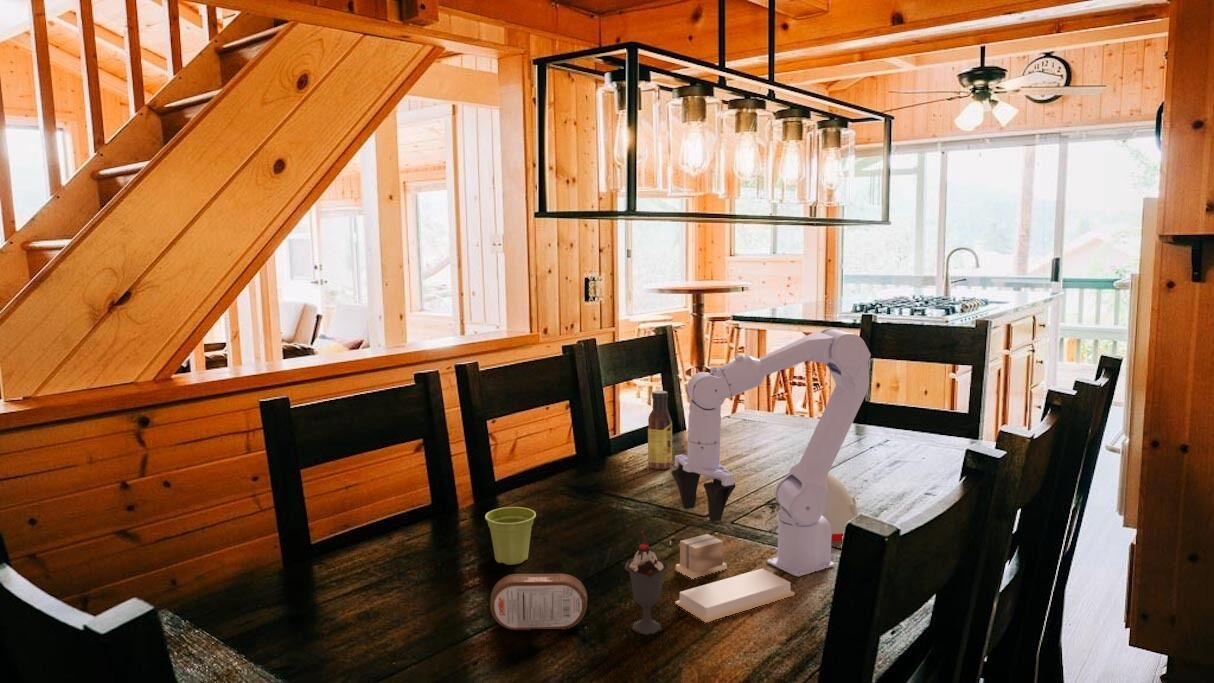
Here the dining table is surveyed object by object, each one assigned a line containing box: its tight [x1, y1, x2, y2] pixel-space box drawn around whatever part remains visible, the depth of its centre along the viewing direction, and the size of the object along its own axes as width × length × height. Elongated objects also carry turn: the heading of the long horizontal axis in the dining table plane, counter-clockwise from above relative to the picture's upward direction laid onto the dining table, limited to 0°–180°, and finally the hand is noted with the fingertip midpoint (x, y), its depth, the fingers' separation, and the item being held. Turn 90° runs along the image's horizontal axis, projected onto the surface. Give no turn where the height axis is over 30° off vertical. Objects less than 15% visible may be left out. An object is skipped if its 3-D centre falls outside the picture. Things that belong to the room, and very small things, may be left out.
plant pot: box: [484, 506, 537, 566], centre depth 156 cm, size 9×9×9 cm
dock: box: [674, 568, 796, 624], centre depth 138 cm, size 8×19×2 cm, turn 122°
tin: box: [489, 573, 588, 631], centre depth 129 cm, size 15×3×8 cm, turn 92°
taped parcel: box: [675, 533, 728, 580], centre depth 150 cm, size 8×5×6 cm, turn 123°
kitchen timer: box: [822, 473, 859, 543], centre depth 170 cm, size 14×14×15 cm
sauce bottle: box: [647, 390, 673, 470], centre depth 215 cm, size 6×6×20 cm
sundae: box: [624, 530, 670, 634], centre depth 128 cm, size 7×7×15 cm
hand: (701, 514), depth 149 cm, fingers open, 7 cm apart
